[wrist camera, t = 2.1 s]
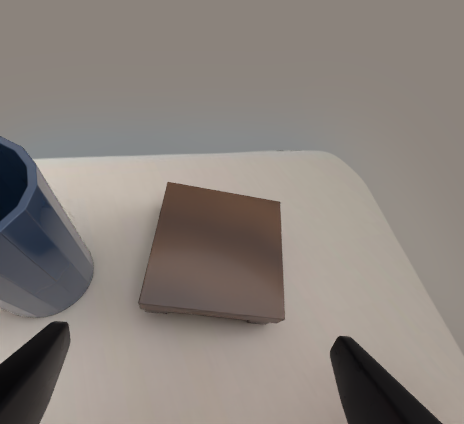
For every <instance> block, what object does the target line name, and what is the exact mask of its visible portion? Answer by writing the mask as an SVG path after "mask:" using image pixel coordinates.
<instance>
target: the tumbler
mask: <svg viewBox="0 0 464 424" xmlns="http://www.w3.org/2000/svg"><path fill="white" fill-rule="evenodd" d="M93 271H94V265H93V259H92V257H91V253H90V252H89V250H88V248H87V247H86V245H85V243H84V242H83V240H82V239H81V237H80V235H79V234H78V232H77V230H76V229H75V227H74V225H73V224H72V222H71V221H70V219H69V217H68V216H67V214H66V212H65V211H64V209H63V208H62V206H61V204H60V203H59V201H58V199H57V198H56V196H55V194H54V193H53V191H52V190H51V188H50V186H49V185H48V183H47V181H46V180H45V178H44V177H43V175H42V173H41V172H40V170H39V168H38V167H37V165H36V163H35V162H34V161H33V160H32V158H31V157H30V156H29V155H28V153H27V152H26V151H25V149H24V148H23V147H21V146H19V145H17V144H15V143H13V142H11V141H9V140H7V139H5V138H3V137H1V136H0V309H3V310H5V311H8V312H10V313H13V314H15V315H18V316H24V317H30V318H40V317H46V316H50V315H54V314H56V313H59V312H61V311H63V310H65V309H67V308H68V307H70V306H71V305H73V304H74V303H75V302H76V301H77V300H78V299H79V298H80V297H81V296H82V295H83V294H84V293H85V291H86V290H87V288H88V286H89V285H90V282H91V280H92V277H93Z"/></svg>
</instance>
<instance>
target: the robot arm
mask: <svg viewBox="0 0 464 424" xmlns="http://www.w3.org/2000/svg"><path fill="white" fill-rule="evenodd" d="M69 346H70V332H69V325H68V323H67V322H58V321H55V322H52V323H50V324H49V325H47V326H46V327H45V328H44V329H43V330H41V331H40V332H39V333H38V334H37V335H35V336H34V337H33V338H32V339H30V340H29V341H28V342H27V343H26V344H24V345H23V346H22V347H21V348H19V349H18V350H17V351H16V352H15V353H13V354H12V355H11V356H10V357H9V358H7V359H6V360H5V361H4V362H2V363H1V364H0V424H39V423H40V421H41V419H42V417H43V415H44V413H45V410H46V408H47V406H48V404H49V401H50V399H51V396H52V393H53V391H54V388H55V385H56V382H57V380H58V377H59V374H60V371H61V368H62V366H63V363H64V360H65V357H66V355H67V352H68V349H69ZM330 358H331V362H332V366H333V371H334V375H335V379H336V383H337V387H338V391H339V395H340V399H341V403H342V406H343V409H344V412H345V415H346V418H347V421H348V424H442V423H441V422H440V421H439V420H438V419H437V418H436V417H435V416H434V415H433V414H432V413H430V412H429V411H428V410H427V409H426V408H425V407H424V406H423V405H422V404H421V403H420V402H419V401H418V400H417V399H416V398H415V397H414V396H413V395H411V394H410V393H409V392H408V391H407V390H406V389H405V388H404V387H403V386H402V385H401V384H400V383H399V382H398V381H397V380H396V379H395V378H394V377H392V376H391V375H390V374H389V373H388V372H387V371H386V370H385V369H384V368H383V367H382V366H381V365H380V364H379V363H378V362H377V361H376V360H375V359H373V358H372V357H371V356H370V355H369V354H368V353H367V352H366V351H365V350H364V349H363V348H362V347H361V346H360V345H359V344H358V343H357V342H356V341H354V340H353V339H352V338H351V337H348V336H339V337H338V338H337V339H336V341H335V343H334V345H333V346H332V348H331V350H330Z"/></svg>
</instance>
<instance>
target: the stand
mask: <svg viewBox="0 0 464 424" xmlns="http://www.w3.org/2000/svg"><path fill="white" fill-rule="evenodd" d="M139 306H140V308H141V309H145V312H152V313H162V314H167V312H177V313H186V314H195V315H205V316H214V317H223V318H233V319H242V320H247V323H257V324H268V323H278V322H280V321H283V320H285V311H284V287H283V263H282V239H281V215H280V202H278V201H272V200H266V199H261V198H255V197H250V196H244V195H238V194H233V193H227V192H222V191H216V190H210V189H205V188H199V187H194V186H188V185H182V184H177V183H171V182H168V183H167V187H166V191H165V195H164V199H163V204H162V208H161V212H160V216H159V220H158V224H157V228H156V233H155V237H154V241H153V245H152V249H151V253H150V257H149V261H148V266H147V270H146V274H145V278H144V282H143V286H142V290H141V295H140V299H139Z"/></svg>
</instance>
